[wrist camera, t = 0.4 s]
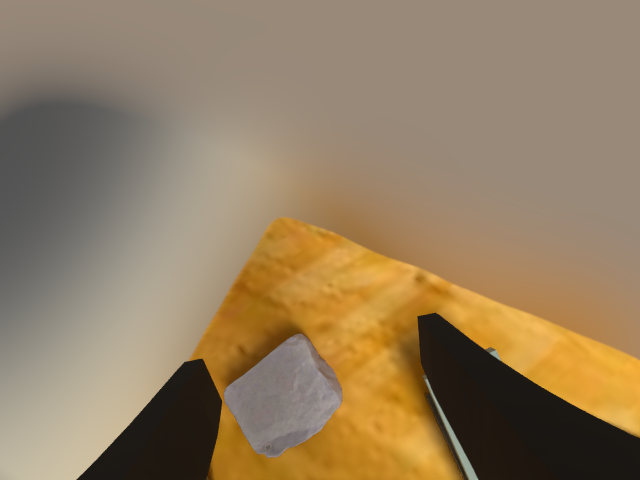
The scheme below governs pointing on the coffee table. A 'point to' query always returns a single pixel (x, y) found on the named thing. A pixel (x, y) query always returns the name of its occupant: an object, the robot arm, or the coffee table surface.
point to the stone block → (284, 397)
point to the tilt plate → (460, 453)
